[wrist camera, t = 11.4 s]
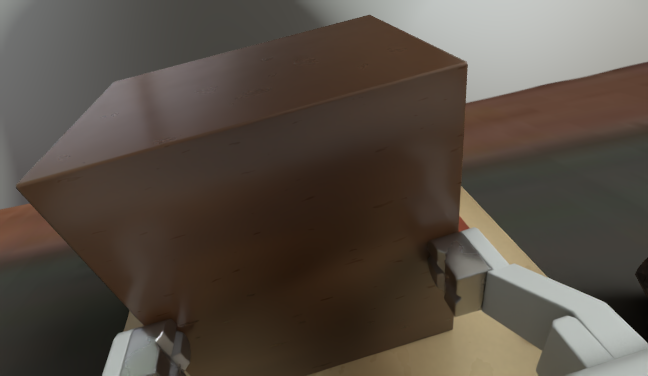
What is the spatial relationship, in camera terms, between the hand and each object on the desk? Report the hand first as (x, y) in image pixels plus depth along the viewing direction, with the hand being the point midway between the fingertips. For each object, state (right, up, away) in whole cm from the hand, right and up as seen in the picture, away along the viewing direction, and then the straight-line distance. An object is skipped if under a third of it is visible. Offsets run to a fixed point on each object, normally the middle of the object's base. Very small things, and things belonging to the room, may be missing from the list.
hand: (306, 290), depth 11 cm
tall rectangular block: (0, -2, +6) cm, 6 cm away
